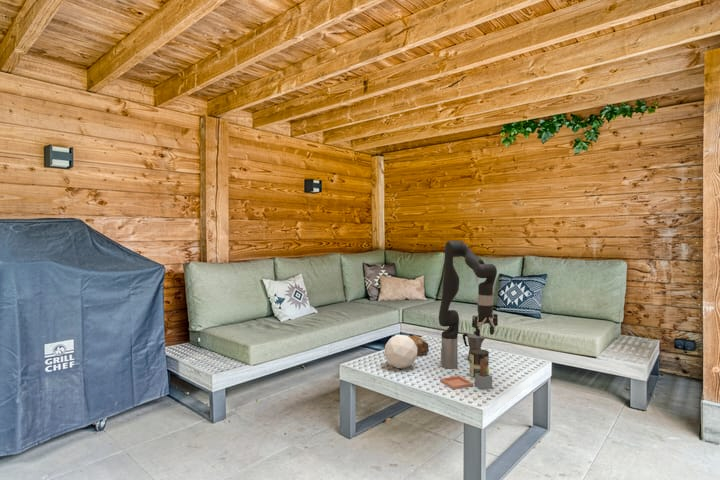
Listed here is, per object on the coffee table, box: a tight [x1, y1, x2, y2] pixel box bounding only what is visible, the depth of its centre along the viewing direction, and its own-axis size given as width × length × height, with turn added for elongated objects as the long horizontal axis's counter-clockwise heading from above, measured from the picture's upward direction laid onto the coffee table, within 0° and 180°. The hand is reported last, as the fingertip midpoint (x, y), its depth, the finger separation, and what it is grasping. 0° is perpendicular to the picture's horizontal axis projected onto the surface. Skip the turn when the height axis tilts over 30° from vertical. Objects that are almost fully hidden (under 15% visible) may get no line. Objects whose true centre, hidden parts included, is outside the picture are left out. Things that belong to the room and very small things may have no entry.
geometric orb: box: [384, 334, 418, 370], centre depth 245 cm, size 19×20×20 cm
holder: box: [474, 373, 493, 391], centre depth 211 cm, size 6×6×7 cm
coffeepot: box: [462, 331, 486, 362], centre depth 258 cm, size 15×9×18 cm, turn 44°
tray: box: [439, 375, 474, 390], centre depth 215 cm, size 12×12×2 cm
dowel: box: [480, 359, 487, 377], centre depth 211 cm, size 3×3×14 cm
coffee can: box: [468, 348, 490, 379], centre depth 228 cm, size 10×10×14 cm
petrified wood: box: [407, 334, 430, 357], centre depth 275 cm, size 19×13×10 cm
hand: (484, 335), depth 210 cm, fingers open, 8 cm apart
